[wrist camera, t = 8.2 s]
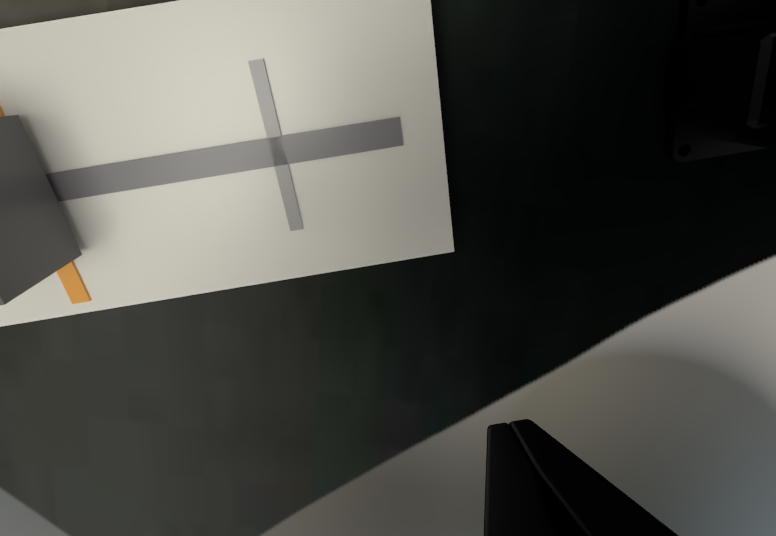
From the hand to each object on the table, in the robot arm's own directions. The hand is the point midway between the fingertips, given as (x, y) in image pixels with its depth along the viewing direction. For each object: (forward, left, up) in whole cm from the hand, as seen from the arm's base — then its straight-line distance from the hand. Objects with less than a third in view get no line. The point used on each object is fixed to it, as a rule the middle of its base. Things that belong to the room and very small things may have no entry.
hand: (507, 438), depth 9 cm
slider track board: (+9, -5, -12) cm, 16 cm away
